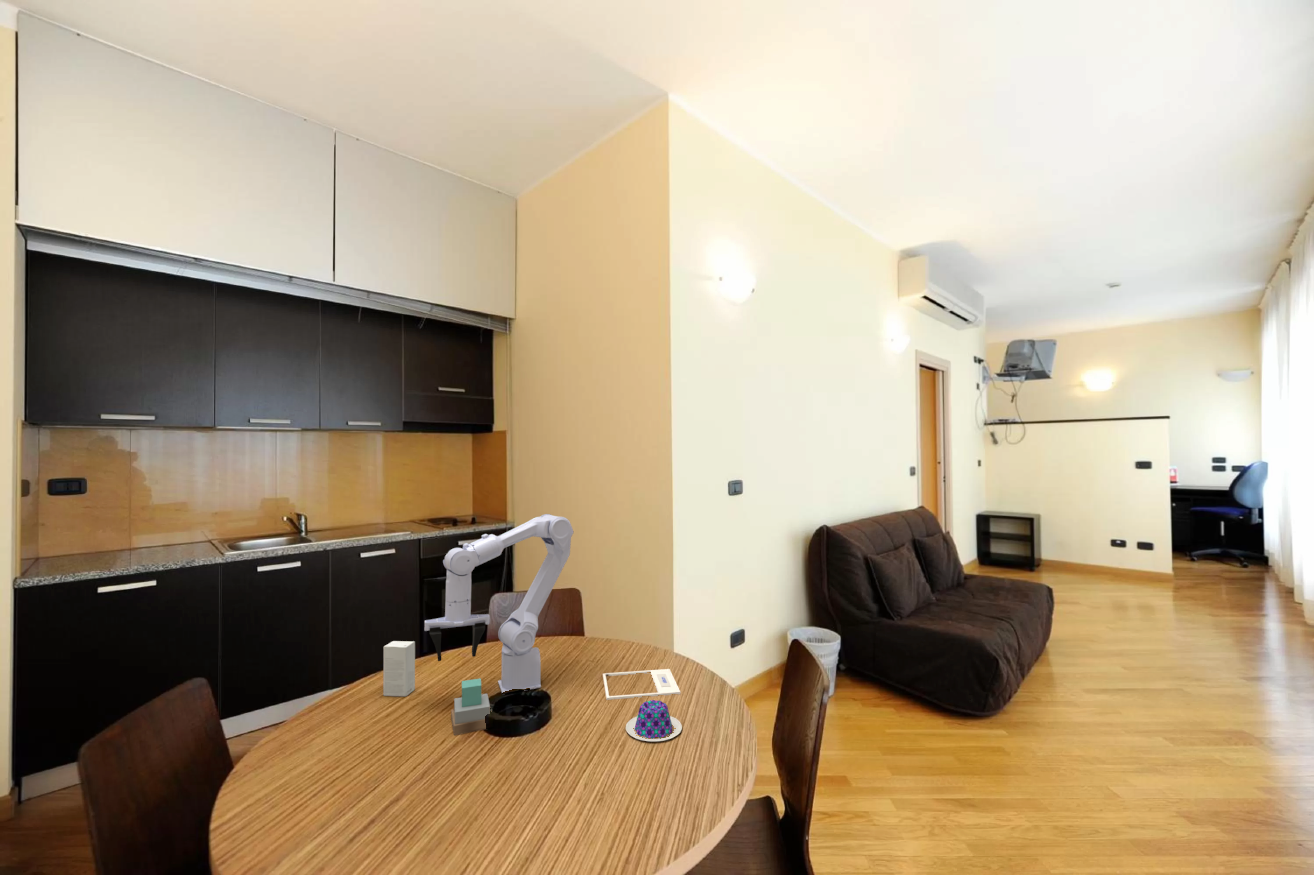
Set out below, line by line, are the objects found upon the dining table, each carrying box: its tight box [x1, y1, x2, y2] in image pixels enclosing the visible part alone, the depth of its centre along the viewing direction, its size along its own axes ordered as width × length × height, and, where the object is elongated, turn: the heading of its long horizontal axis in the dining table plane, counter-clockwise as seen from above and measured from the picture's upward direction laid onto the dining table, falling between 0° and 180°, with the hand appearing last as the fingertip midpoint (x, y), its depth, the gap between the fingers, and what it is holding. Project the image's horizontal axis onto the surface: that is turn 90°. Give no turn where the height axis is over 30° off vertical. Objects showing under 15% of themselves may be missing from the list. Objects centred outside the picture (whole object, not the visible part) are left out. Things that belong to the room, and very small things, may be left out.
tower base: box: [450, 708, 487, 736], centre depth 120 cm, size 8×8×2 cm
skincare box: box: [382, 640, 416, 697], centre depth 135 cm, size 6×4×12 cm
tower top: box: [453, 693, 491, 724], centre depth 120 cm, size 7×7×2 cm
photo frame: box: [602, 668, 681, 701], centre depth 139 cm, size 15×1×18 cm
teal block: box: [461, 678, 482, 707], centre depth 120 cm, size 4×4×4 cm
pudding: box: [625, 699, 683, 742], centre depth 117 cm, size 12×12×5 cm
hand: (456, 657), depth 130 cm, fingers open, 7 cm apart
